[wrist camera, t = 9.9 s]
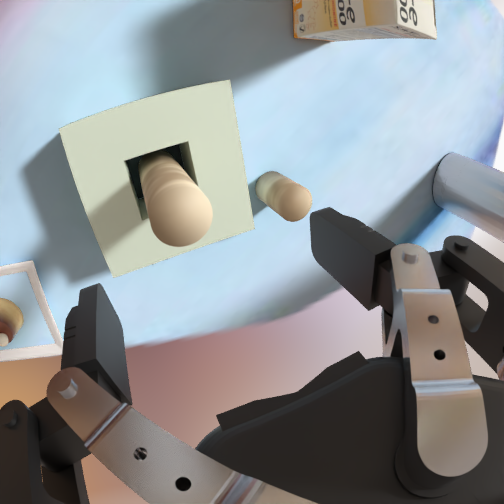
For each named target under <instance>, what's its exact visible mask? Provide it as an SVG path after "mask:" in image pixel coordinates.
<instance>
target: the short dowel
mask: <svg viewBox="0 0 504 504" xmlns="http://www.w3.org/2000/svg"><path fill="white" fill-rule="evenodd" d="M255 192H256V195H257V197H258V198H259V199H260V200H261V201H262V202H264V203H265V204H266V205H267V206H269V207H270V208H271V209H273V210H274V211H275V212H276V213H278V214H279V215H280V216H281V217H283V218H284V219H285V220H287V221H291V222H294V221H298V220H301V219H302V218H304V217H305V216H306V215H307V213H308V212H309V210H310V208H311V205H312V196H311V193H310V192H309V190H308V189H307V188H305V187H303V186H301V185H300V184H298V183H296V182H294V181H292V180H291V179H289V178H287V177H285V176H283V175H281V174H280V173H278V172H275V171H270V172H266V173H264V174H263V175H261V176H260V178H259V179H258V181H257V183H256V186H255Z"/></svg>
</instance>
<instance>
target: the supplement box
mask: <svg viewBox="0 0 504 504" xmlns="http://www.w3.org/2000/svg"><path fill="white" fill-rule="evenodd" d="M293 17H294V18H293V21H294V23H293V27H294V30H293V31H294V38H302V39H315V40H325V41H331V42H334V41H348V40H362V39H384V38H420V39H434V40H436V39H437V29H436V18H435V3H434V0H293Z"/></svg>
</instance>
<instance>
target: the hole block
mask: <svg viewBox="0 0 504 504" xmlns="http://www.w3.org/2000/svg"><path fill="white" fill-rule="evenodd" d="M59 132H60V135H61V139H62V142H63V146H64V149H65V152H66V156H67V159H68V162H69V165H70V168H71V172H72V175H73V178H74V181H75V184H76V186H77V189H78V192H79V195H80V198H81V200H82V203H83V206H84V209H85V211H86V214H87V217H88V219H89V222H90V224H91V227H92V229H93V232H94V234H95V237H96V239H97V241H98V244H99V246H100V249H101V251H102V253H103V256H104V258H105V260H106V262H107V265H108V267H109V269H110V271H111V273H112V276H113V278H115V277H118V276H121V275H123V274H126V273H129V272H132V271H134V270H137V269H140V268H143V267H146V266H148V265H151V264H154V263H157V262H160V261H163V260H165V259H168V258H171V257H174V256H177V255H180V254H183V253H185V252H188V251H191V250H194V249H197V248H200V247H203V246H206V245H209V244H212V243H214V242H217V241H220V240H223V239H226V238H229V237H232V236H235V235H238V234H241V233H244V232H247V231H250V230H253V229H255V227H254V221H253V215H252V209H251V203H250V196H249V190H248V184H247V178H246V172H245V166H244V160H243V154H242V148H241V142H240V136H239V130H238V124H237V118H236V112H235V106H234V100H233V95H232V89H231V83H230V80H223V81H216V82H210V83H205V84H200V85H195V86H190V87H186V88H182V89H177V90H173V91H169V92H165V93H161V94H157V95H154V96H150V97H146V98H143V99H139V100H136V101H133V102H129V103H126V104H123V105H120V106H117V107H114V108H111V109H108V110H105V111H102V112H99V113H96V114H93V115H91V116H88V117H85V118H83V119H80V120H77V121H75V122H72V123H70V124H68V125H66V126H64V127H62V128H60V129H59ZM176 144H179V147H180V152H181V156H182V160H183V165H184V169H185V172H186V173H187V174H188V176H189V177H190V178H191V179H192V180H193V181H194V183H195V184H196V185H197V186H198V187H199V189H200V190H201V191H202V192H203V193H204V195H205V196H206V197H207V198H208V200H209V201H210V203H211V206H212V211H213V218H212V223H211V226H210V228H209V230H208V231H207V233H206V234H205V235H204V236H203V237H202V238H201V239H200V240H199V241H197V242H195V243H194V244H191V245H188V246H184V247H173V246H169V245H166V244H165V243H163V242H161V241H160V240H159V239H158V238H157V237H156V236H155V234H154V233H153V231H152V228H151V225H150V220H149V216H148V212H147V208H146V204H145V199H144V197H143V198H140V199H138V197H137V194H136V191H135V188H134V184H133V181H132V178H131V174H130V171H129V167H128V164H127V160H128V159H131V158H134V157H137V156H140V155H143V154H146V153H150V152H153V151H156V150H159V149H163V148H166V147H169V146H173V145H176Z"/></svg>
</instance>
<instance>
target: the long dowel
mask: <svg viewBox="0 0 504 504" xmlns="http://www.w3.org/2000/svg"><path fill="white" fill-rule="evenodd" d="M138 172H139V177H140V181H141V186H142V191H143V195H144V199H145V204H146V208H147V212H148V216H149V220H150V225H151V228H152V231H153V233H154V234H155V236H156V237H157V238H158V239H159V240H160V241H161V242H163V243H165V244H166V245H169V246H173V247H184V246H188V245H191V244H194V243H195V242H197V241H199V240H200V239H201V238H202V237H203V236H204V235H205V234H206V233H207V231H208V230H209V228H210V226H211V223H212V218H213V211H212V206H211V203H210V201H209V200H208V198H207V197H206V196H205V195H204V193H203V192H202V191H201V190H200V189H199V187H198V186H197V185H196V184H195V183H194V181H193V180H192V179H191V178H190V177H189V176H188V174H187V173H186V172H185V171H184V170H183V168H182V167H181V166H180V165H179V164H178V162H177V161H176V160H175V159H174V158H173V157H172V155H171V154H170V153H169V152H167V151H166V150H163V149H159V150H156V151H153V152H150V153H146V154H144V155H143V156H142V157H141V159H140V161H139V164H138Z"/></svg>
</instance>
